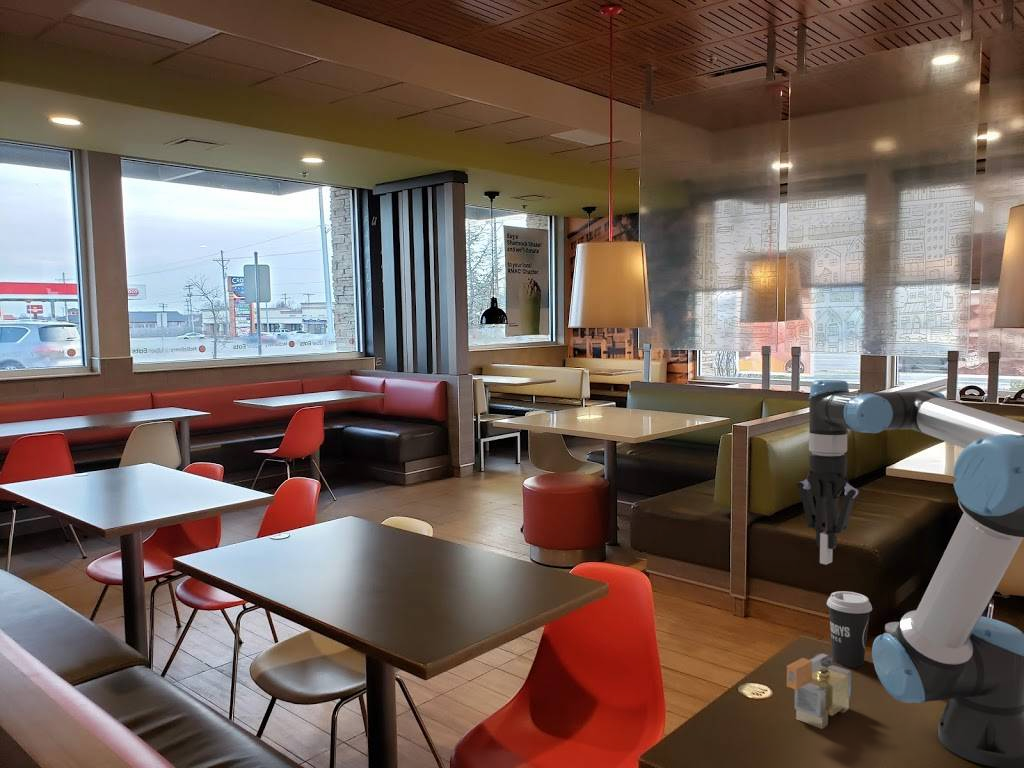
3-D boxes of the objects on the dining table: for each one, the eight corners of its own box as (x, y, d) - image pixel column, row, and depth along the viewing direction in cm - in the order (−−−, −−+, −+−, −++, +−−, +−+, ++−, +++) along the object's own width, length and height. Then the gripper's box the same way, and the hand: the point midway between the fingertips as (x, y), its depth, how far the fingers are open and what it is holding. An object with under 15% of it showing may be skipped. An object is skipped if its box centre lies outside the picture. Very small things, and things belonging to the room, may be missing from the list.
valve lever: (820, 666, 155) (820, 646, 155) (835, 671, 153) (835, 651, 153) (783, 685, 147) (784, 664, 147) (799, 691, 145) (799, 670, 144)
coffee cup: (833, 649, 185) (834, 587, 184) (876, 659, 179) (877, 595, 178) (820, 662, 178) (821, 598, 177) (864, 673, 172) (865, 607, 171)
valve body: (821, 697, 161) (822, 657, 160) (854, 709, 156) (855, 667, 155) (790, 719, 152) (790, 676, 151) (824, 732, 147) (824, 687, 146)
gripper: (866, 454, 162) (864, 565, 163) (806, 447, 171) (805, 552, 173) (850, 458, 157) (848, 573, 158) (790, 451, 166) (788, 559, 168)
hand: (826, 562), depth 166 cm, fingers closed
